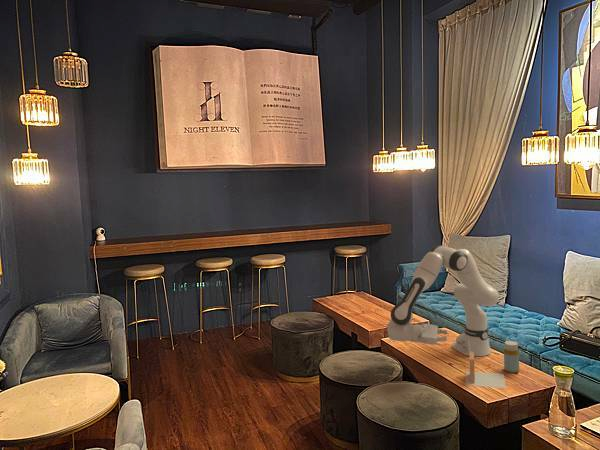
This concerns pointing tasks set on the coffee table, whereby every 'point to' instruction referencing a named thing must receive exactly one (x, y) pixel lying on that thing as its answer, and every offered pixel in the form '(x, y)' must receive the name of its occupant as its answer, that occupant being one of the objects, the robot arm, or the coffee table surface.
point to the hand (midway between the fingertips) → (446, 335)
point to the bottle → (511, 357)
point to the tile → (472, 368)
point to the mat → (486, 379)
